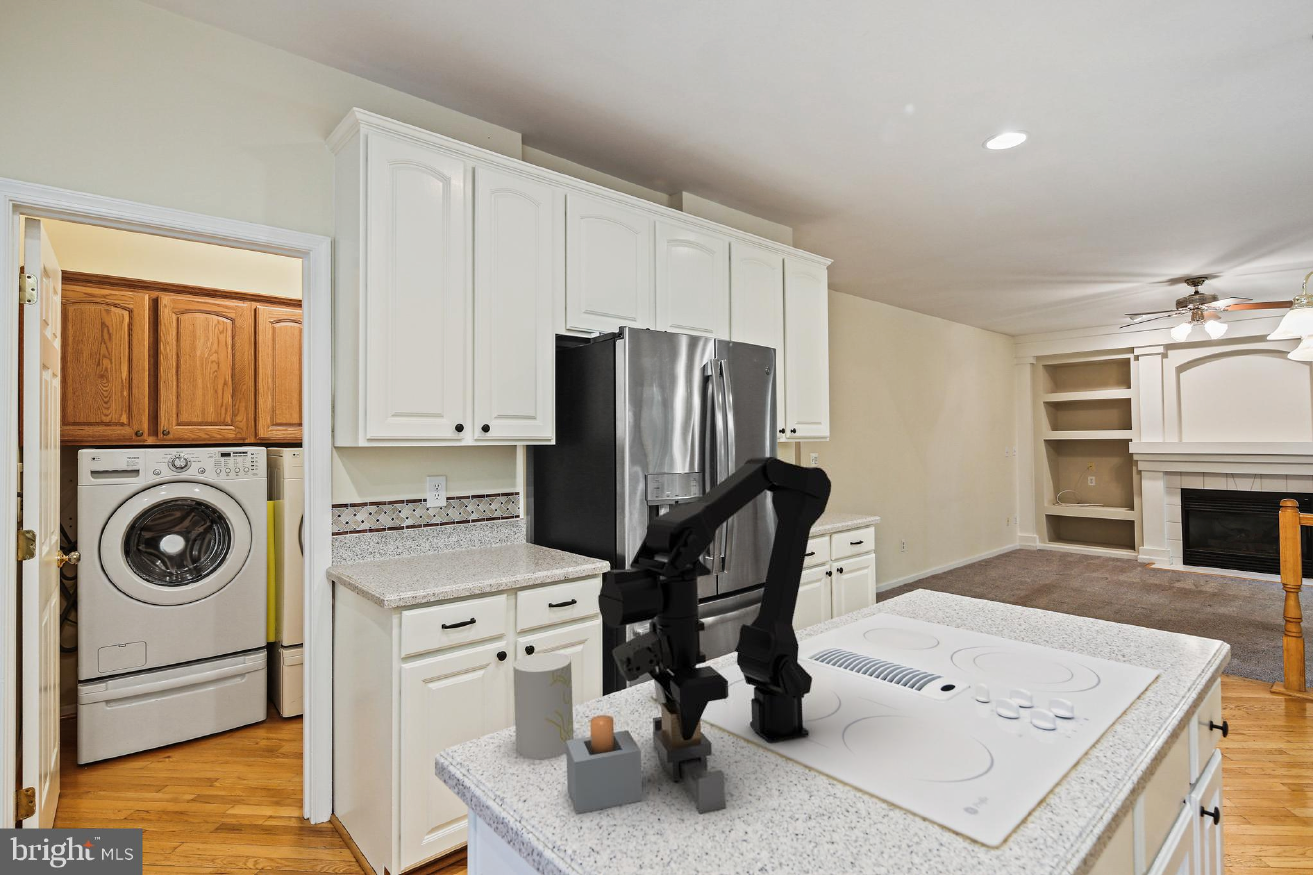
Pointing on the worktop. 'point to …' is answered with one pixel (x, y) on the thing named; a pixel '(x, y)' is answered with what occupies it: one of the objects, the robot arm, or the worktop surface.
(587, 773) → the grey hollow block
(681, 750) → the carriage
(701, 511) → the robot arm
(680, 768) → the rail
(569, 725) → the cup
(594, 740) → the button
